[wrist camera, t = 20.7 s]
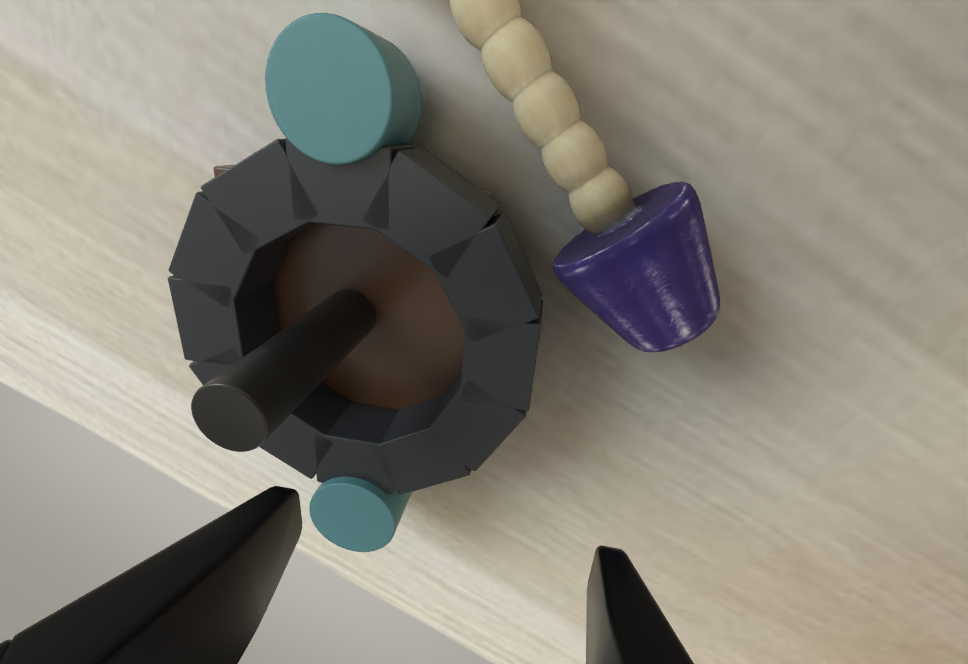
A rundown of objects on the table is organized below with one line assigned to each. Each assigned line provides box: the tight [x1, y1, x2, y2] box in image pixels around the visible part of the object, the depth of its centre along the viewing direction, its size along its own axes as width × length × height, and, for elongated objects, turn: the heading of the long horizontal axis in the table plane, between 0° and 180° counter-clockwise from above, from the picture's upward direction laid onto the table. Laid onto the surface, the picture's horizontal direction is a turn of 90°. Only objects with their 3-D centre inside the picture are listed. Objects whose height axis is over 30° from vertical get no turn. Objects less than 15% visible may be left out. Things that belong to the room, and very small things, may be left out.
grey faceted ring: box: [168, 13, 543, 552], centre depth 17 cm, size 13×19×3 cm
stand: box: [191, 165, 492, 452], centre depth 15 cm, size 10×10×8 cm
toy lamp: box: [449, 0, 720, 352], centre depth 13 cm, size 5×5×17 cm
